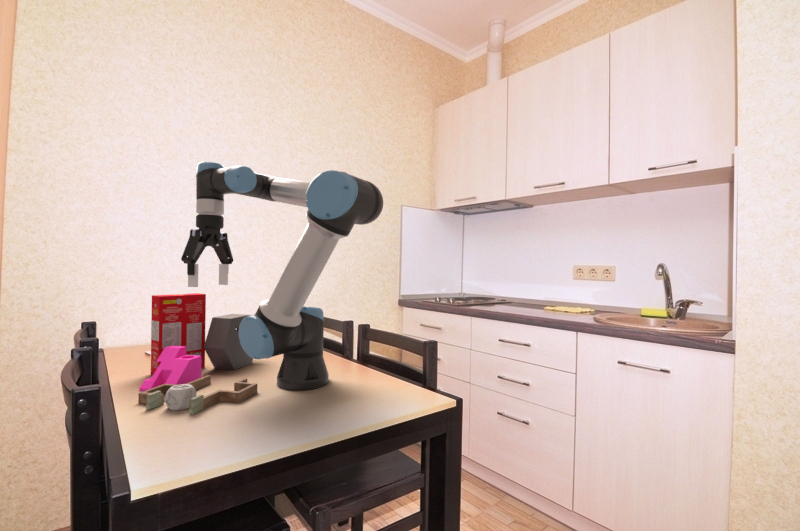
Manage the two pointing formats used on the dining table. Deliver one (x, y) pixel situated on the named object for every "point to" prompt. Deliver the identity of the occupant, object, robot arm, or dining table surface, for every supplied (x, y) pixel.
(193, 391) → the die
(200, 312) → the food packaging
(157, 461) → the dining table surface
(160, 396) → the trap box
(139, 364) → the dining table surface
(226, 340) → the planter
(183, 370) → the bracket
